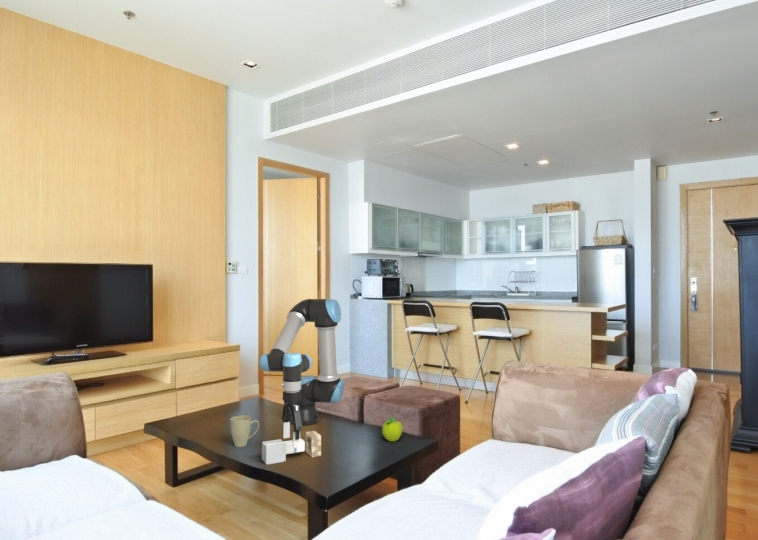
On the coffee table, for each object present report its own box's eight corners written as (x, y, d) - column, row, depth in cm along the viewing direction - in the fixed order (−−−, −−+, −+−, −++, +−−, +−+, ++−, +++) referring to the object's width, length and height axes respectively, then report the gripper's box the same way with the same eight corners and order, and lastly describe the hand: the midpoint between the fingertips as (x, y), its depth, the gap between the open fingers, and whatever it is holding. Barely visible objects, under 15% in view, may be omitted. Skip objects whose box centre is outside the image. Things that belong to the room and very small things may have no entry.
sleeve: (280, 455, 204) (281, 438, 204) (285, 461, 198) (285, 443, 198) (261, 459, 200) (261, 441, 200) (266, 464, 194) (266, 446, 194)
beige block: (314, 449, 211) (314, 430, 211) (321, 455, 204) (321, 435, 204) (305, 451, 209) (305, 432, 210) (311, 457, 202) (312, 437, 202)
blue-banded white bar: (301, 448, 207) (301, 438, 207) (304, 451, 203) (304, 441, 203) (266, 454, 200) (266, 443, 200) (269, 457, 196) (269, 446, 196)
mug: (241, 450, 210) (241, 422, 211) (225, 446, 216) (226, 418, 216) (260, 443, 220) (260, 416, 220) (244, 439, 225) (244, 413, 225)
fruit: (379, 442, 221) (379, 420, 221) (386, 436, 229) (386, 415, 230) (398, 445, 218) (398, 422, 218) (404, 438, 226) (404, 417, 227)
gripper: (274, 386, 212) (274, 435, 211) (292, 397, 190) (291, 452, 189) (291, 384, 216) (290, 433, 215) (310, 395, 194) (310, 449, 193)
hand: (291, 442), depth 202 cm, fingers open, 13 cm apart
